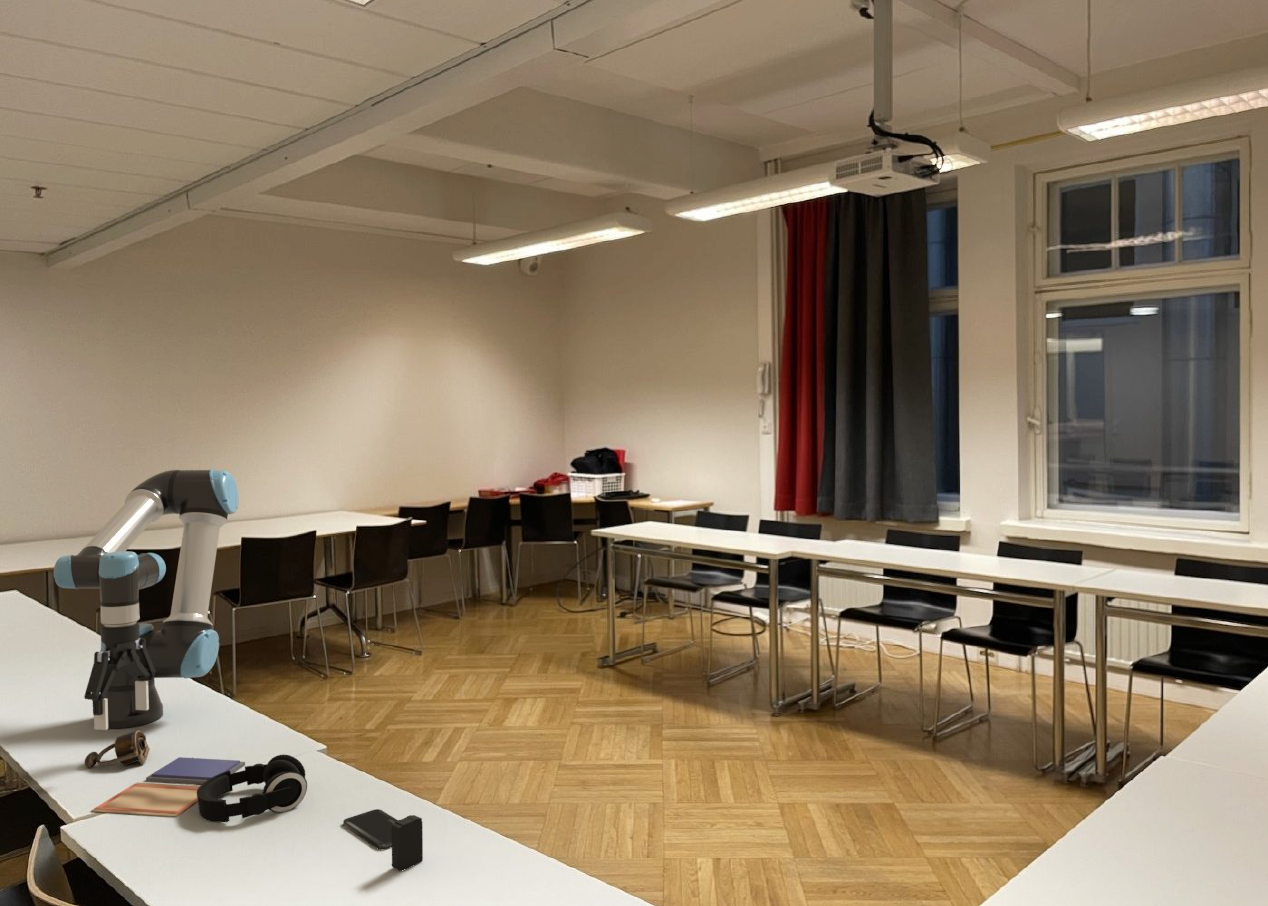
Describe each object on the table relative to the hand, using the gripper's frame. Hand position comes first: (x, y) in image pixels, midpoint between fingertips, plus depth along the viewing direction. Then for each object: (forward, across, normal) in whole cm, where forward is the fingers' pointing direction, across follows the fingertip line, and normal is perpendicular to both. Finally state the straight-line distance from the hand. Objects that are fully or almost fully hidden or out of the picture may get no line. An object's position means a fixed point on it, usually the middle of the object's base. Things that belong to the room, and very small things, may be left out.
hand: (122, 719), depth 213 cm
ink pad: (+10, +2, +19) cm, 22 cm away
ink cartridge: (+11, +35, +79) cm, 87 cm away
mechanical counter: (+10, -1, -2) cm, 11 cm away
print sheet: (+10, +16, +19) cm, 27 cm away
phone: (+11, +23, +69) cm, 74 cm away
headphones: (+11, +16, +39) cm, 44 cm away
